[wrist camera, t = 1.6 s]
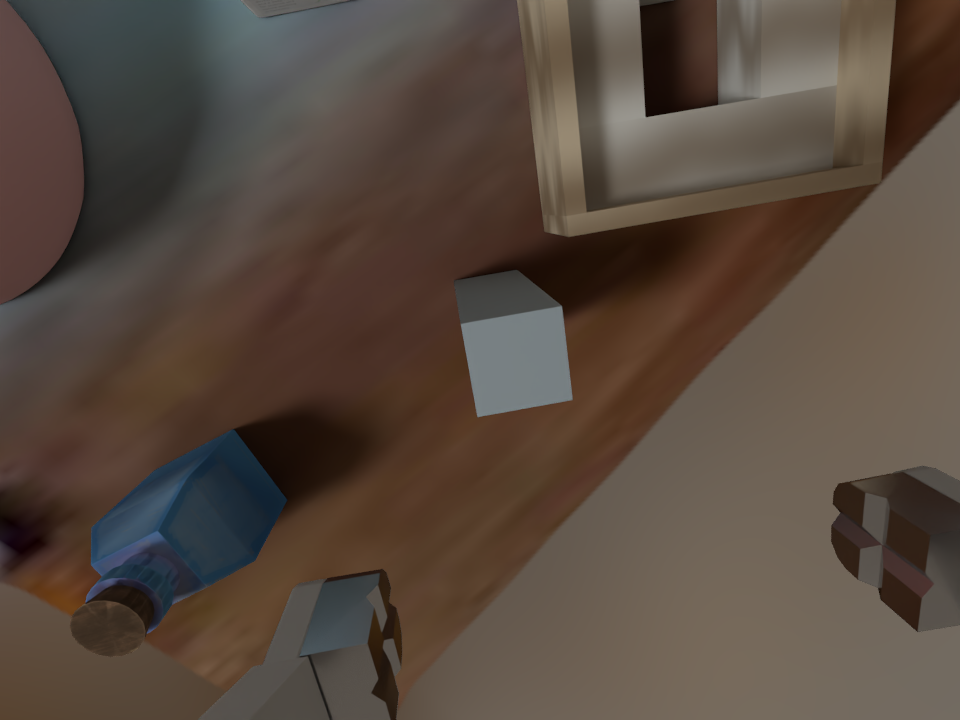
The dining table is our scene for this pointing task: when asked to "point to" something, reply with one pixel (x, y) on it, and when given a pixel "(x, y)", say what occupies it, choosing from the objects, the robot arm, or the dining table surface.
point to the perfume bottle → (174, 541)
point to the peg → (512, 343)
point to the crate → (704, 110)
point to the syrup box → (284, 6)
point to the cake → (34, 160)
